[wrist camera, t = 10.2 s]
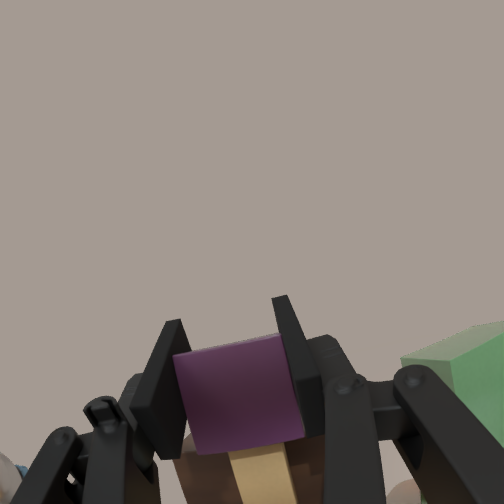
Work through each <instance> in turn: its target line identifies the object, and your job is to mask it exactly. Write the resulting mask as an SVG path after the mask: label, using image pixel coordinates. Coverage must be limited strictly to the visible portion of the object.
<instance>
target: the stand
mask: <svg viewBox="0 0 504 504" xmlns="http://www.w3.org/2000/svg"><path fill="white" fill-rule="evenodd" d="M301 419H302V417H301ZM302 423H303V421H302ZM303 427H304V425H303ZM304 432H305V429H304ZM284 446H285V450H286V454H287V458H288V462H289V466H290V470H291V474H292V478H293V482H294V486H295V490H296V494H297V498H298V502H299V504H323V498H324V470H325V434H324V435H320V436H316V437H312V438H308V439H307V436H306V432H305V437H304V438H300V439H296V440H291V441H287V442H284ZM172 460H173V463H174V466H175V469H176V472H177V475H178V478H179V481H180V484H181V487H182V490H183V493H184V496H185V498H186V501H187V504H243V501H242V498H241V495H240V492H239V488H238V485H237V482H236V479H235V475H234V472H233V469H232V465H231V462H230V459H229V455H228V452H224V453H217V454H208V455H198V454H197V451H196V448H195V445H194V441H193V438H192V434H191V433H190V434H189V435H188V436H187V437H186V438H185V439H184V440H183V445H182V451H181V457H180V459H172Z"/></svg>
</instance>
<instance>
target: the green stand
mask: <svg viewBox="0 0 504 504" xmlns="http://www.w3.org/2000/svg"><path fill="white" fill-rule="evenodd" d="M400 359H401V363H402V368H403V367H405V366H409V365H418V364H420V365H424V366H427V367H429V368H430V369H432V370H433V371H434V372H435V373H436V374H437V375H438V376H439V377H440V378H441V380H442V381H443V382H444V383H445V384H446V385H447V386H448V387H449V388H450V389H451V390H452V391H453V392H454V393H455V394H456V396H457V397H458V398H459V399H460V400H461V401H462V402H463V403H464V404H465V405H466V406H467V407H468V409H469V410H470V411H471V412H472V413H473V414H474V415H475V416H476V417H477V418H478V420H479V421H480V422H481V423H482V424H483V425H484V426H485V427H486V428H487V430H488V431H489V432H490V433H491V434H492V435H493V436H494V438H495V439H496V440H497V441H498V442H499V443H500V444H501V446H502V447H503V448H504V321H500V322H495V323H489V324H483V325H477V326H472V327H470V328H468V329H466V330H464V331H462V332H460V333H457V334H455V335H453V336H451V337H448V338H446V339H444V340H442V341H439V342H437V343H435V344H432V345H430V346H428V347H425V348H423V349H420V350H418V351H415V352H413V353H410V354H408V355H405V356H403V357H401V358H400ZM420 493H421V491H420ZM421 504H428V503H427V502H426V500H425V498H424V496H423V494H422V493H421Z"/></svg>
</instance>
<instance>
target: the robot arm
mask: <svg viewBox="0 0 504 504" xmlns="http://www.w3.org/2000/svg"><path fill="white" fill-rule="evenodd" d="M272 303H273V307H274V312H275V316H276V321H277V325H278V330H279V333H281V335H282V339H283V344H284V348H285V352H286V356H287V360H288V365H289V369H290V373H291V378H292V382H293V386H294V390H295V395H296V399H297V403H298V406H299V410H300V414H301V417H302V421H303V425H304V429H305V432H306V436H307V439H308V438H312V437H316V436H320V435H324V434H325V470H324V498H323V504H386V495H385V487H384V478H383V470H382V463H381V456H380V449H379V443H378V441H382V440H392V441H393V443H394V445H395V446H396V448H397V450H398V452H399V453H400V455H401V457H402V459H403V460H404V462H405V464H406V466H407V467H408V469H409V471H410V473H411V474H412V476H413V478H414V480H415V482H416V484H417V485H418V487H419V489H420V491H421V493H422V494H423V496H424V498H425V500H426V502H427V503H428V504H504V448H503V447H502V446H501V444H500V443H499V442H498V441H497V440H496V439H495V438H494V436H493V435H492V434H491V433H490V432H489V431H488V430H487V428H486V427H485V426H484V425H483V424H482V423H481V422H480V421H479V420H478V418H477V417H476V416H475V415H474V414H473V413H472V412H471V411H470V410H469V409H468V407H467V406H466V405H465V404H464V403H463V402H462V401H461V400H460V399H459V398H458V397H457V396H456V394H455V393H454V392H453V391H452V390H451V389H450V388H449V387H448V386H447V385H446V384H445V383H444V382H443V381H442V380H441V378H440V377H439V376H438V375H437V374H436V373H435V372H434V371H433V370H432V369H430V368H429V367H427V366H424V365H420V364H418V365H409V366H405V367H403V368H401V369H399V370H398V371H397V372H396V374H395V375H394V379H393V380H391V381H383V382H371V381H367V380H366V378H365V377H363V376H362V375H360V374H356V372H355V370H354V369H353V367H352V365H351V363H350V362H349V360H348V359H347V357H346V355H345V353H344V352H343V350H342V348H341V347H340V345H339V343H338V341H337V340H336V339H335V338H333V337H332V336H330V335H323V336H319V337H315V338H312V339H308V340H306V338H305V336H304V333H303V331H302V329H301V326H300V324H299V321H298V319H297V317H296V315H295V312H294V310H293V308H292V305H291V303H290V300H289V298H288V296H287V295H283V296H279V297H275V298H272ZM190 351H192V350H191V347H190V345H189V342H188V339H187V336H186V333H185V331H184V328H183V325H182V322H181V319H176V320H171V321H166V323H165V325H164V327H163V329H162V331H161V334H160V336H159V338H158V340H157V343H156V345H155V347H154V349H153V352H152V354H151V356H150V358H149V361H148V363H147V365H146V368H145V370H144V372H143V373H139V374H135V375H134V376H133V377H132V378H131V379H130V380H128V382H127V384H126V386H125V388H124V391H123V392H122V394H121V397H120V399H119V401H118V403H117V401H116V399H115V398H113V397H111V396H101V397H98V398H95V399H94V400H92V401H90V402H89V403H88V404H87V405H86V406H85V407H84V409H83V412H84V413H85V415H86V416H87V418H88V420H89V421H90V423H91V424H92V426H93V427H94V431H93V432H90V433H86V434H82V435H78V434H77V432H76V431H75V430H74V429H73V428H72V427H68V426H66V427H60V428H58V429H56V430H55V431H53V432H52V433H51V434H50V435H49V436H48V438H47V439H46V441H45V443H44V445H43V446H42V448H41V449H40V451H39V453H38V455H37V456H36V458H35V459H34V461H33V463H32V464H31V466H30V468H29V470H28V469H27V468H26V467H25V466H19V465H14V464H13V463H12V462H11V461H10V460H9V459H8V458H7V457H6V456H5V455H4V454H2V453H1V452H0V504H161V498H160V488H159V477H158V467H157V465H156V463H155V462H154V460H153V456H154V452H155V451H156V453H157V455H158V456H159V458H160V459H161V460H171V459H180V457H181V451H182V445H183V439H184V433H185V427H186V421H187V416H186V412H185V408H184V404H183V400H182V397H181V392H180V388H179V384H178V380H177V376H176V371H175V367H174V363H173V358H172V356H173V355H176V354H181V353H185V352H190ZM69 473H70V474H71V475H72V476H73V477H74V478H75V481H74V482H73V483H72V484H71V483H70V482H69V481H68V480H67V477H68V475H69Z"/></svg>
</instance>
